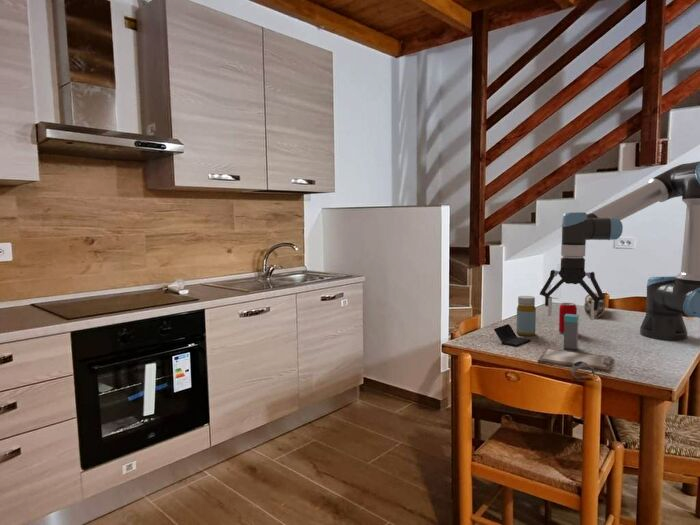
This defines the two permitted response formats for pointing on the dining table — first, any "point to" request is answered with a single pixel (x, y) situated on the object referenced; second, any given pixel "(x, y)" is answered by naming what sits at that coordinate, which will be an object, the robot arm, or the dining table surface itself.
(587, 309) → the pencil case
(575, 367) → the wristwatch
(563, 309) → the beverage can
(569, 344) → the teal and grey block
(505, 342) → the handheld gaming console
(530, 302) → the bottle
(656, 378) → the dining table surface
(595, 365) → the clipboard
